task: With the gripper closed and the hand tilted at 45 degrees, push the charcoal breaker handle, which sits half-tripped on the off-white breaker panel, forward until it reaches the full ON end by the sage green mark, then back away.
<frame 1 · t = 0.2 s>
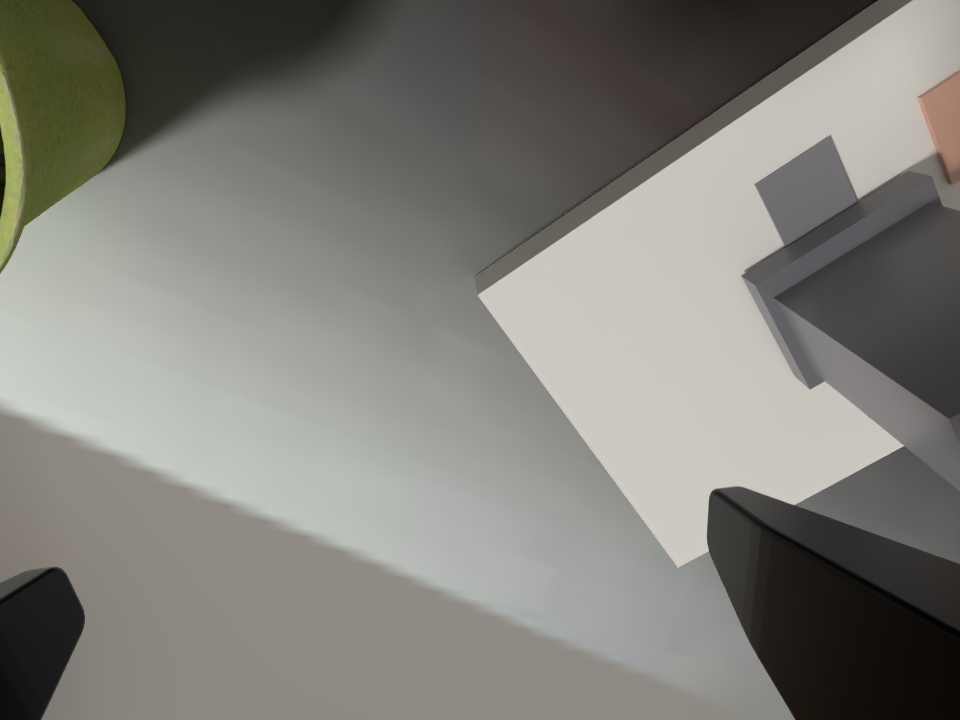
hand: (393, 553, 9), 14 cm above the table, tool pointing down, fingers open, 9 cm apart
plant pot: (28, 85, 19), on the table
breaker handle: (941, 329, 17), point 6 cm above the table, slide at 2.5 cm
breaker panel: (817, 272, 23), on the table
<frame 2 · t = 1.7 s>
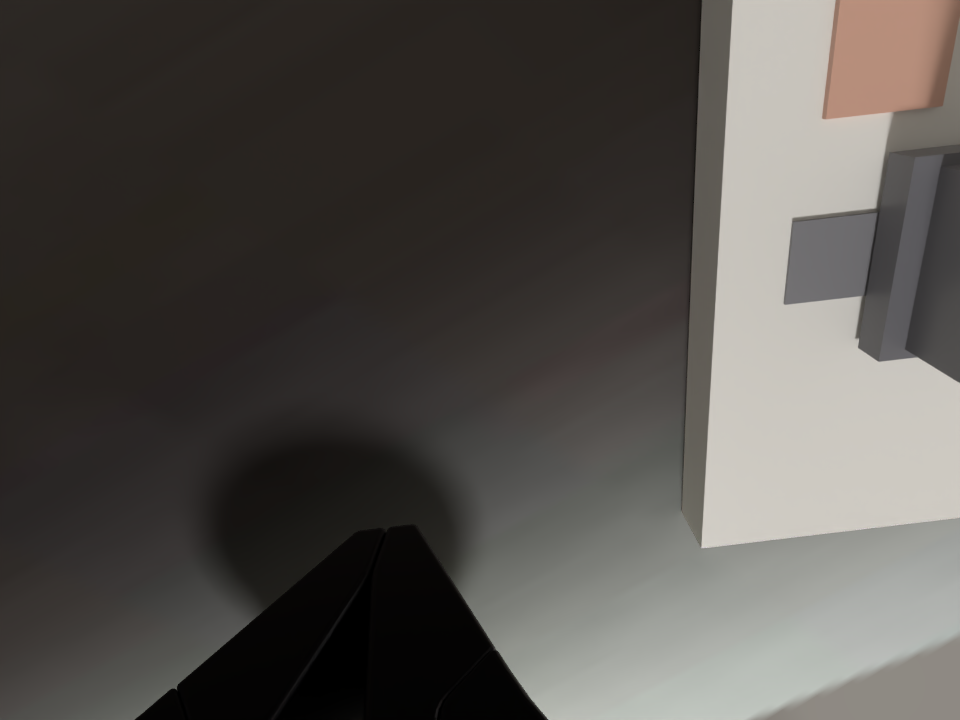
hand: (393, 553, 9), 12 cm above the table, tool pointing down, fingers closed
breaker panel: (915, 227, 20), on the table
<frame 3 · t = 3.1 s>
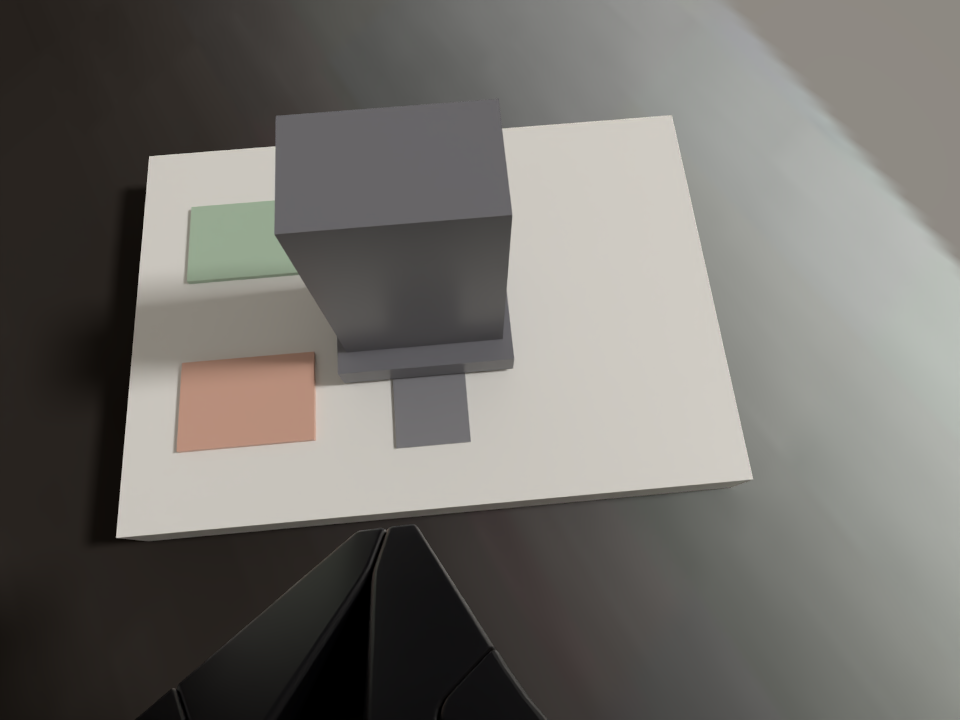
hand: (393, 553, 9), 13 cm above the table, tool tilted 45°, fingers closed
breaker handle: (411, 256, 18), point 6 cm above the table, slide at 2.5 cm
breaker panel: (429, 324, 24), on the table
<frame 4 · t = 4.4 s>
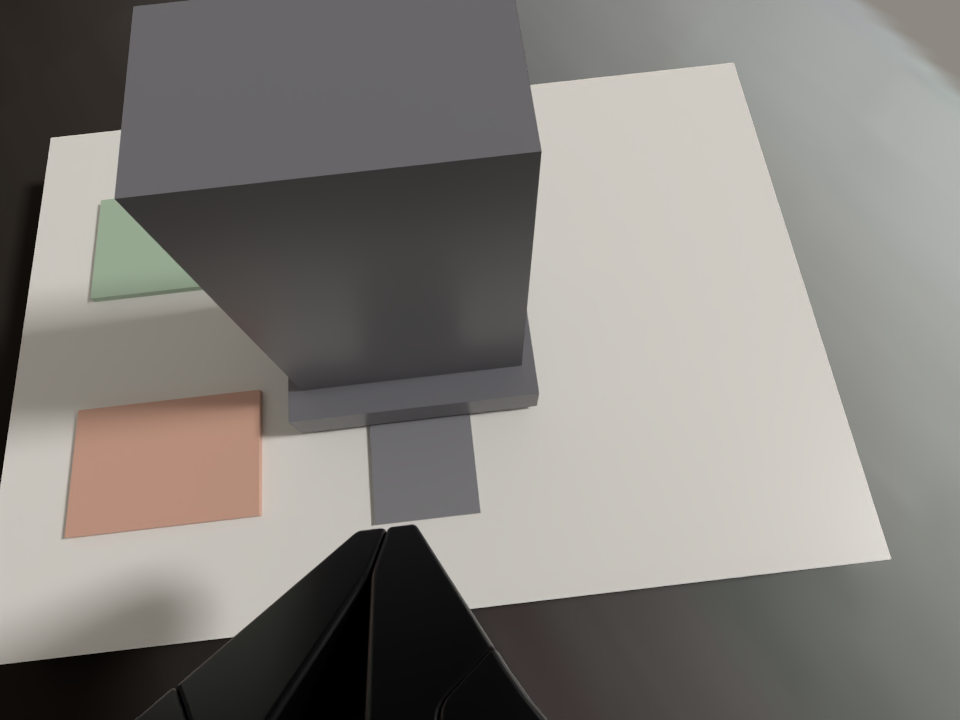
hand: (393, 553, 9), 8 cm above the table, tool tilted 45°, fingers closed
breaker handle: (383, 247, 12), point 6 cm above the table, slide at 2.5 cm
breaker panel: (421, 347, 18), on the table
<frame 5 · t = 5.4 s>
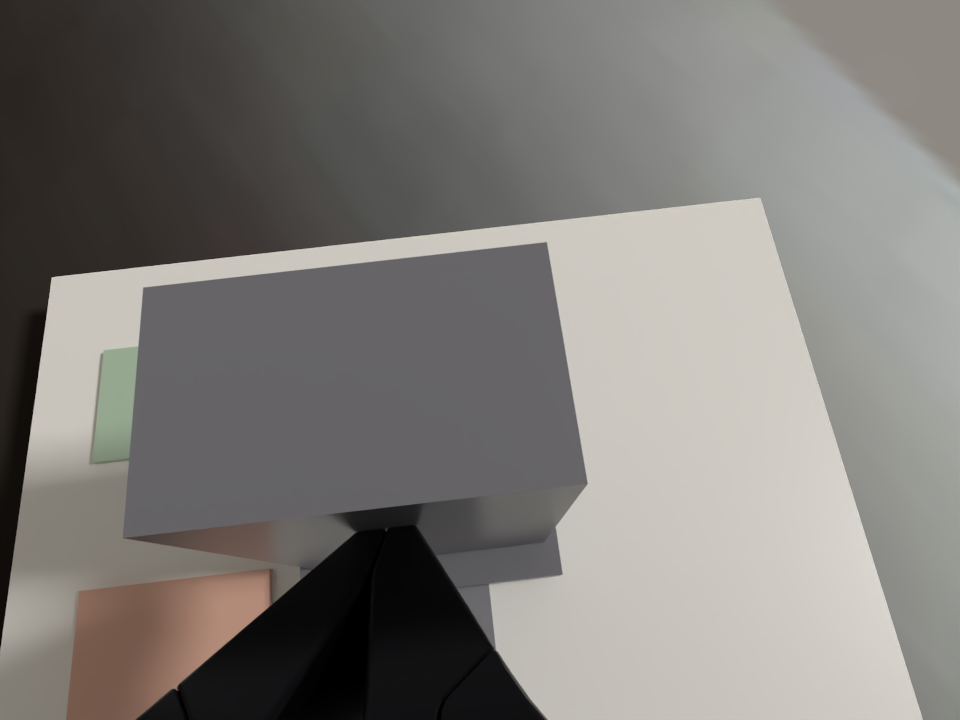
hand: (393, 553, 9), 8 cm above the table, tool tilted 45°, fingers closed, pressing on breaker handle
breaker handle: (403, 456, 11), point 6 cm above the table, slide at 2.8 cm, touching gripper
breaker panel: (436, 498, 18), on the table
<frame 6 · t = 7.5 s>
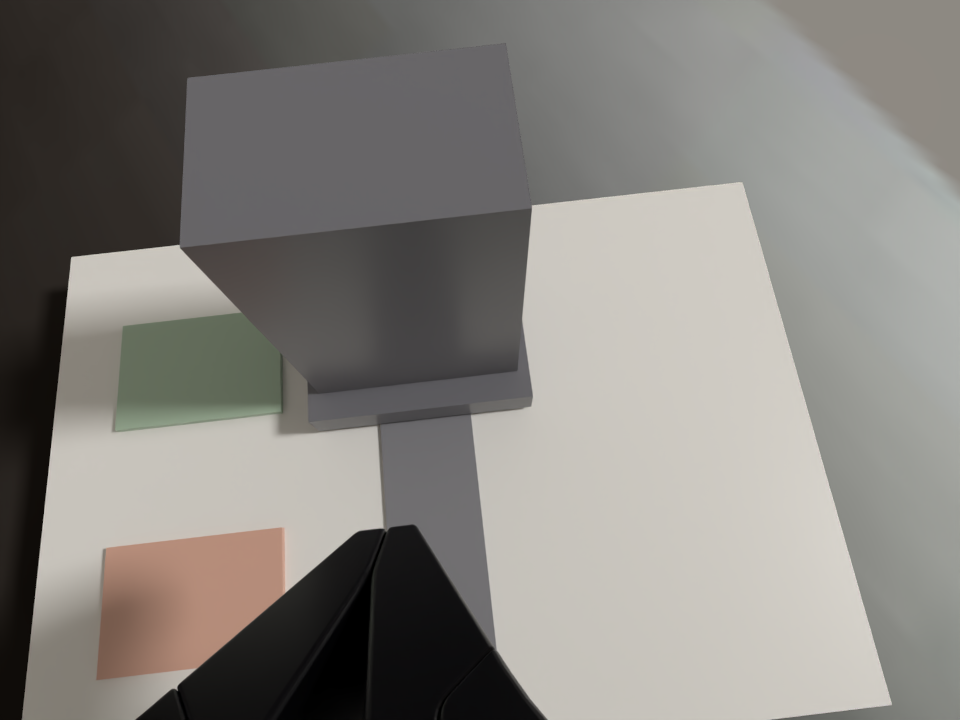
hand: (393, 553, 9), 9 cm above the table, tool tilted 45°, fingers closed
breaker handle: (394, 270, 14), point 6 cm above the table, slide at 6.1 cm
breaker panel: (435, 465, 19), on the table
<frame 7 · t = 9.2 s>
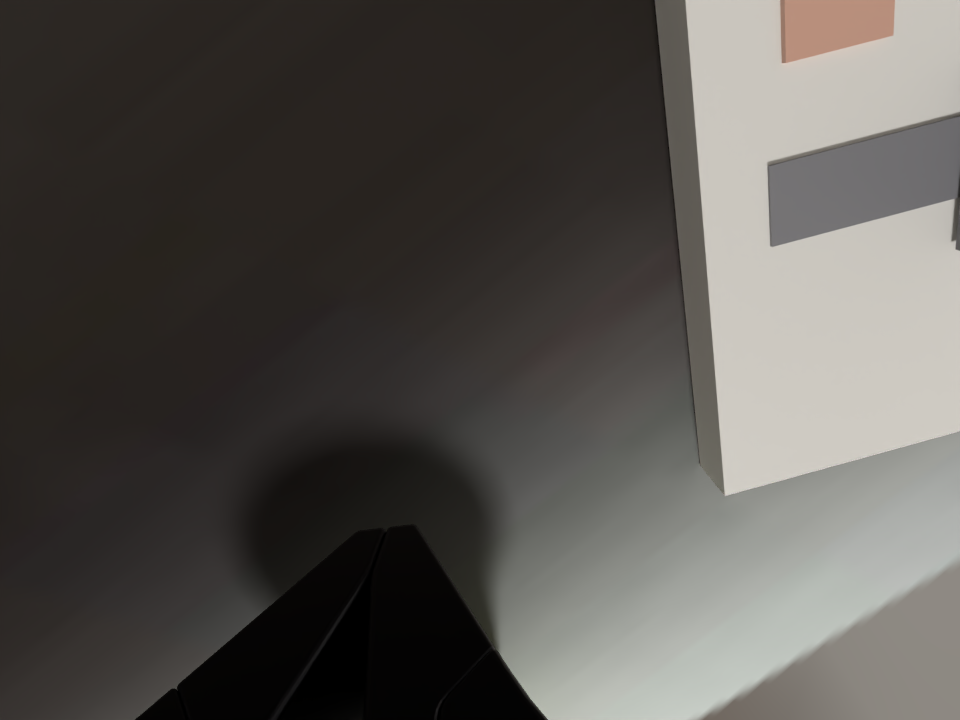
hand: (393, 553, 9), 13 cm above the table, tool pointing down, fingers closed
breaker panel: (883, 156, 21), on the table
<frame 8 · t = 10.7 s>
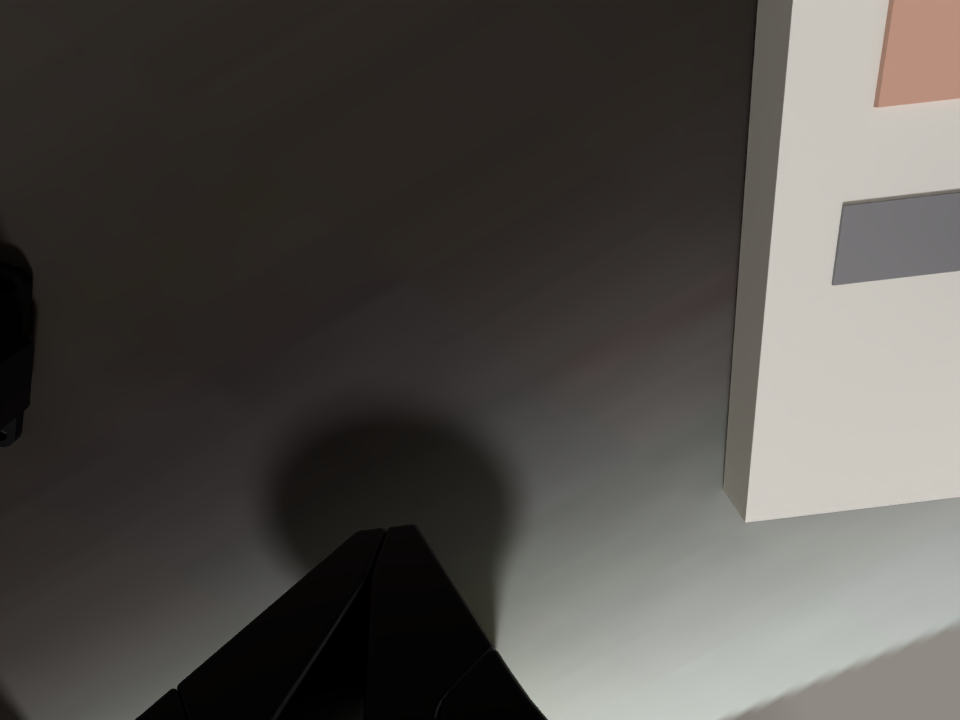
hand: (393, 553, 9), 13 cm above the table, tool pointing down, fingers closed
breaker panel: (954, 212, 21), on the table
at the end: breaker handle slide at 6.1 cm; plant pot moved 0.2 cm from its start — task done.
